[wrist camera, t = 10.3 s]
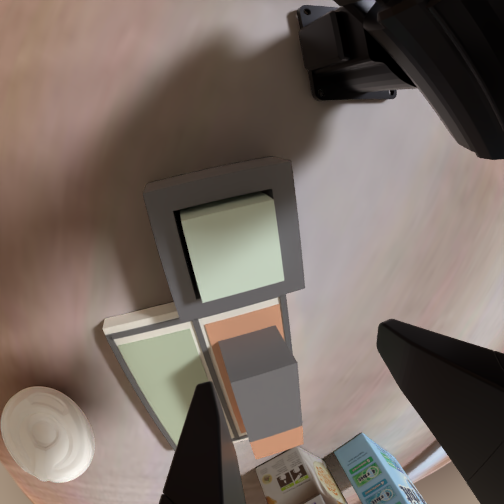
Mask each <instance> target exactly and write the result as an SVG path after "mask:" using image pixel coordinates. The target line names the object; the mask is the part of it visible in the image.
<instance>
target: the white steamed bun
mask: <svg viewBox="0 0 504 504" xmlns="http://www.w3.org/2000/svg"><path fill="white" fill-rule="evenodd" d="M1 433H2V438H3V441H4V443H5V446H6V448H7V450H8V452H9V453H10V455H11V456H12V458H13V459H14V461H15V462H16V463H17V464H18V465H19V466H20V467H21V468H22V469H23V470H24V471H26V472H27V473H29V474H31V475H33V476H36V478H38V479H39V480H41V481H48V480H49V481H52V482H54V483H62V482H67V481H71V480H73V479H75V478H77V477H78V476H80V475H81V474H82V473H83V472H84V471H85V470H86V469H87V468H88V467H89V465H90V463H91V461H92V459H93V455H94V450H95V439H94V434H93V431H92V428H91V425H90V423H89V421H88V419H87V417H86V416H85V414H84V412H83V411H82V410H81V408H80V407H79V406H78V405H77V404H76V403H75V402H74V401H73V400H72V399H70V398H69V397H68V396H66V395H65V394H63V393H61V392H60V391H57V390H55V389H52V388H49V387H42V386H35V387H28V388H25V389H23V390H21V391H19V392H18V393H16V394H15V395H14V396H12V397H11V398H10V399H9V400H8V402H7V403H6V405H5V407H4V409H3V412H2V416H1Z"/></svg>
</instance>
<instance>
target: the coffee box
mask: <svg viewBox="0 0 504 504" xmlns="http://www.w3.org/2000/svg"><path fill="white" fill-rule="evenodd" d="M256 473H257V476H258V478H259V481H260V484H261V487H262V489H263V492H264V495H265V498H266V500H267V503H268V504H348V503H347V501H346V500H345V498H344V496H343V494H342V493H341V491H340V489H339V487H338V485H337V484H336V482H335V480H334V478H333V476H332V474H331V472H330V471H329V469H328V467H327V465H326V463H325V461H324V460H322V459H320V458H318V457H316V456H314V455H313V454H311V453H309V452H307V451H305V450H303V449H302V448H300V447H298V446H296V447H294V448H292V449H290V450H288V451H286V452H285V453H283V454H281V455H279V456H278V457H276V458H274V459H272V460H270V461H268V462H267V463H265V464H263V465H261V466H259V467H257V468H256Z"/></svg>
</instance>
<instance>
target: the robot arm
mask: <svg viewBox="0 0 504 504" xmlns="http://www.w3.org/2000/svg"><path fill="white" fill-rule="evenodd" d="M334 1H335V2H336V3H337V4H338V5H339V6H341V7H339V8H335V7H325V6H312V5H303V6H302V7H300V8H299V9H298V11H297V14H298V19H299V24H300V29H301V30H300V31H299V37H300V42H301V48H302V53H303V59H304V64H305V68H306V69H307V70H308V72H309V78H310V84H311V91H312V95H313V97H314V98H315V99H316V100H318V101H326V100H348V99H394V98H395V97H396V95H397V92H396V90H398V89H415V88H418V89H419V90H420V92H421V93H422V94H423V96H424V97H425V98H426V100H427V101H428V102H429V104H430V105H431V106H432V108H433V109H434V110H435V112H436V113H437V115H438V116H439V118H440V119H441V121H442V122H443V123H444V125H445V126H446V128H447V129H448V131H449V132H450V134H451V135H452V136H453V138H454V139H455V140H456V141H457V143H458V144H460V145H462V146H463V147H465V148H467V149H469V150H471V151H473V152H475V153H476V155H477V157H479V158H484V159H490V160H497V159H504V0H334ZM304 10H305V11H307V12H308V15H306V14H305V13H304ZM319 90H322V92H323V95H322V96H320V95H319V93H318V92H319ZM389 90H390V94H389ZM377 349H378V352H379V353H380V355H381V357H382V358H383V360H384V362H385V364H386V365H387V367H388V369H389V370H390V372H391V374H392V376H393V377H394V379H395V381H396V383H397V384H398V386H399V388H400V389H401V391H402V392H403V393H404V395H405V396H406V398H407V399H408V400H409V402H410V403H411V404H412V406H413V407H414V408H415V410H416V411H417V413H418V414H419V415H420V417H421V418H422V420H423V421H424V422H425V424H426V425H427V426H428V428H429V429H430V431H431V432H432V433H433V435H434V436H435V438H436V439H437V440H438V442H439V443H440V445H441V446H442V448H443V449H444V450H445V452H446V453H447V455H448V456H449V458H450V459H451V460H452V462H453V463H454V465H455V466H456V468H457V469H458V471H459V472H460V473H461V475H462V476H463V478H464V479H465V481H466V482H467V484H468V486H469V487H470V489H471V490H472V492H473V493H474V495H475V496H476V498H477V499H478V501H479V502H480V504H504V353H500V352H497V351H493V350H490V349H487V348H484V347H480V346H477V345H474V344H471V343H467V342H464V341H461V340H458V339H455V338H451V337H448V336H445V335H442V334H439V333H435V332H432V331H429V330H426V329H423V328H420V327H417V326H413V325H410V324H407V323H404V322H401V321H398V320H395V319H389V320H386V321H384V322H382V323H380V324H379V327H378V335H377ZM163 493H164V494H162V495H161V498H160V501H159V504H246V502H245V497H244V492H243V486H242V481H241V476H240V471H239V465H238V460H237V456H236V451H235V448H234V445H233V442H232V438H231V435H230V432H229V429H228V426H227V423H226V419H225V416H224V413H223V409H222V406H221V403H220V400H219V397H218V395H217V392H216V390H215V387H214V384H213V382H212V381H208V382H204V383H200V384H197V385H196V388H195V391H194V394H193V397H192V400H191V403H190V406H189V410H188V413H187V416H186V419H185V422H184V425H183V428H182V431H181V435H180V438H179V441H178V444H177V447H176V450H175V454H174V457H173V460H172V463H171V466H170V470H169V473H168V476H167V479H166V483H165V486H164V489H163Z"/></svg>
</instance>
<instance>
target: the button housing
mask: <svg viewBox="0 0 504 504" xmlns="http://www.w3.org/2000/svg"><path fill="white" fill-rule="evenodd" d="M258 191H261V192H263V193H264V194H266V195H267V196H269V197H271V198H272V199H274V205H275V212H276V219H277V227H278V234H279V242H280V249H281V257H282V265H283V273H284V281H281V282H278V283H274V284H271V285H267V286H264V287H260V288H257V289H253V290H249V291H246V292H242V293H238V294H235V295H231V296H227V297H223V298H220V299H216V300H212V301H208V302H205V303H202V299H201V295H200V292H199V288H198V285H197V281H196V277H195V275H192V276H191V273H190V269H189V265H188V261H187V258H186V254H185V250H184V246H183V242H182V238H181V234H180V230H179V226H178V222H177V218H176V214H175V211H176V210H180V209H184V208H188V207H192V206H196V205H200V204H204V203H208V202H213V201H217V200H221V199H226V198H230V197H235V196H239V195H244V194H248V193H253V192H258ZM143 197H144V201H145V205H146V208H147V212H148V216H149V220H150V224H151V227H152V231H153V235H154V238H155V242H156V245H157V249H158V252H159V256H160V259H161V262H162V266H163V269H164V272H165V275H166V279H167V282H168V285H169V288H170V291H171V294H172V297H173V300H174V304H175V307H176V310H177V312H178V315H179V318H180V321H181V322H185V321H189V320H193V319H197V318H201V317H205V316H209V315H212V314H216V313H220V312H224V311H227V310H231V309H235V308H238V307H242V306H246V305H249V304H253V303H256V302H260V301H263V300H267V299H270V298H274V297H277V296H280V295H284V294H287V293H291V292H294V291H297V290H301V289H304V288H305V283H304V272H303V261H302V250H301V240H300V231H299V221H298V212H297V204H296V195H295V187H294V179H293V171H292V163H291V161H289V160H285V159H281V158H277V157H273V156H271V157H265V158H260V159H254V160H249V161H244V162H239V163H234V164H229V165H224V166H219V167H214V168H210V169H205V170H201V171H196V172H192V173H188V174H183V175H179V176H175V177H171V178H167V179H163V180H159V181H155V182H151V183H147V184H146V187H145V189H144V192H143Z"/></svg>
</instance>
